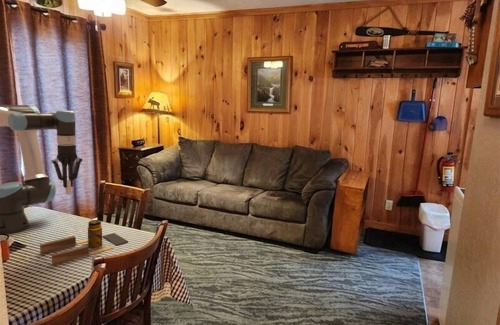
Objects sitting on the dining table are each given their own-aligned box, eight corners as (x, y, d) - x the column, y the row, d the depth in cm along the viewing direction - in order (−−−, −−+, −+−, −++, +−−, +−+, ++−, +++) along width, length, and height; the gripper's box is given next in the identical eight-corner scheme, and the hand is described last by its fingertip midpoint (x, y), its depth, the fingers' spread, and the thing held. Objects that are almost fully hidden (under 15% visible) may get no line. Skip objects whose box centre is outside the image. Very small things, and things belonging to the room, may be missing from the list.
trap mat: (102, 237, 165) (102, 236, 164) (114, 234, 169) (114, 232, 169) (116, 245, 156) (116, 244, 155) (128, 242, 160) (128, 241, 160)
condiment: (105, 246, 154) (104, 222, 152) (85, 251, 149) (84, 225, 147) (100, 241, 160) (100, 217, 158) (81, 245, 154) (80, 221, 152)
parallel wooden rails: (40, 252, 145) (39, 244, 144) (74, 243, 156) (73, 235, 155) (53, 265, 135) (53, 256, 134) (89, 254, 145) (88, 246, 145)
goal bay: (75, 242, 157) (75, 242, 157) (97, 237, 164) (97, 236, 164) (91, 254, 146) (91, 254, 146) (113, 248, 153) (113, 247, 153)
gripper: (53, 146, 145) (55, 198, 149) (84, 144, 154) (85, 193, 159) (48, 144, 150) (50, 194, 154) (78, 142, 159) (79, 189, 164)
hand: (68, 193), depth 156 cm, fingers closed
